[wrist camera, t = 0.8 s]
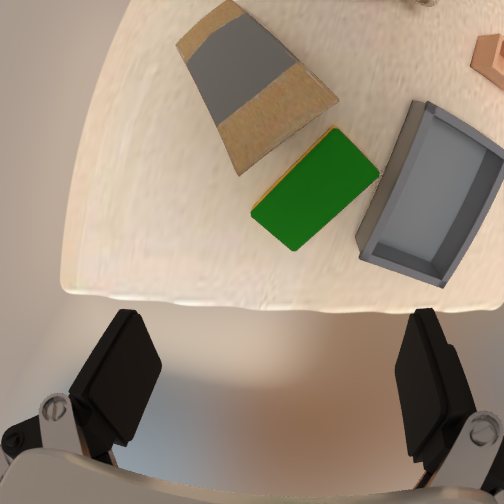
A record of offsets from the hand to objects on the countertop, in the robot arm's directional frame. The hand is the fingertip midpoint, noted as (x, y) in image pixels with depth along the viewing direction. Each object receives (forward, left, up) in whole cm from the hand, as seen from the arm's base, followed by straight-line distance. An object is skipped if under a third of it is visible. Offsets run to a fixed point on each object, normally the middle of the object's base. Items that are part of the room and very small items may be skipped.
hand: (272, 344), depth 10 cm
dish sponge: (+3, +4, -28) cm, 28 cm away
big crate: (-2, +17, -27) cm, 32 cm away
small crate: (-21, +20, -27) cm, 40 cm away
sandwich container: (-8, -8, -28) cm, 30 cm away
